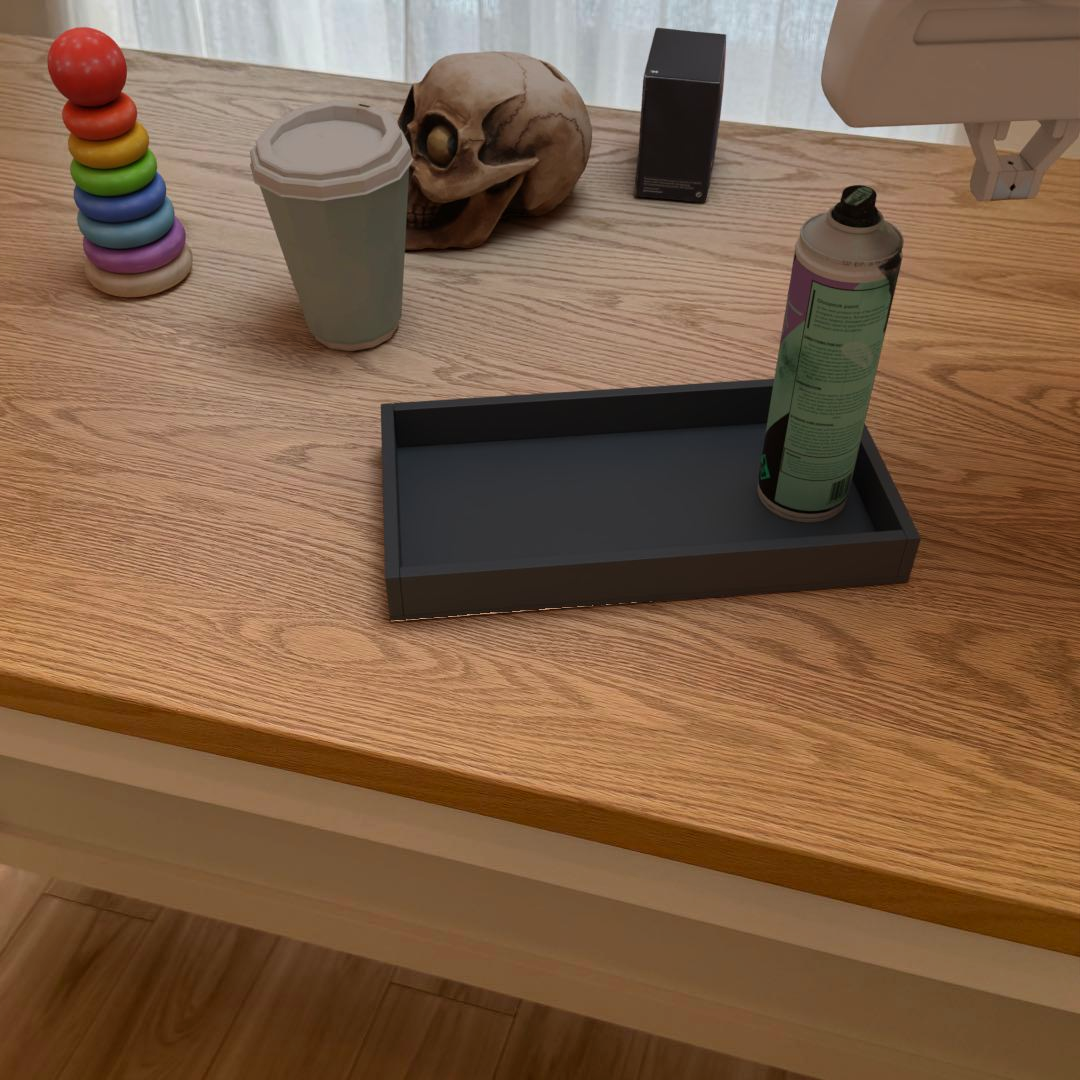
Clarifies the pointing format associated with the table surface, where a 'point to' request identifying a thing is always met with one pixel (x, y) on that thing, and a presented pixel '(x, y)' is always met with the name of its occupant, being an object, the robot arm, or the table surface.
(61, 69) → the stacking toy
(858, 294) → the spray can
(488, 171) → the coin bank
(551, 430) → the tray
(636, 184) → the small box
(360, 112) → the disposable coffee cup
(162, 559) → the table surface
